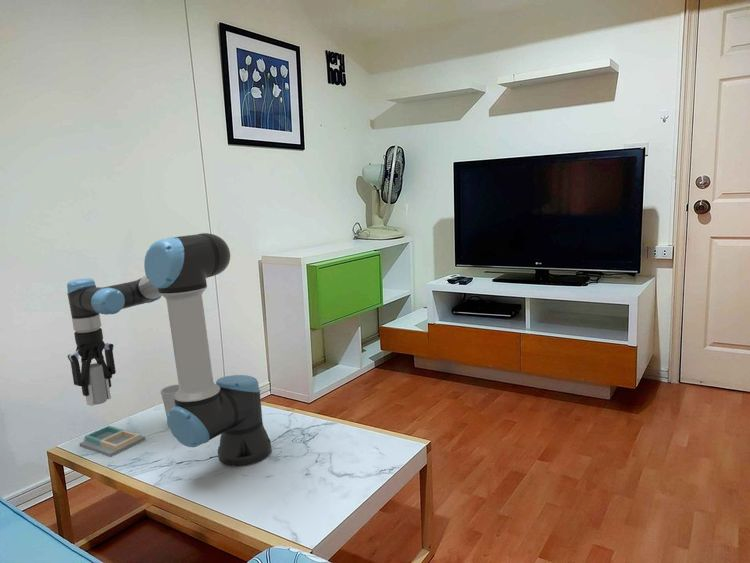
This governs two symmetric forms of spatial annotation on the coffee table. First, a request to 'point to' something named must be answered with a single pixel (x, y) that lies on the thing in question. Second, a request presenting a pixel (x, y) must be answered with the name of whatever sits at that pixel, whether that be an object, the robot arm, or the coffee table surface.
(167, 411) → the cup
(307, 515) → the coffee table surface
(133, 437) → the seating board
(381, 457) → the coffee table surface
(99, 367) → the beverage can
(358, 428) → the coffee table surface
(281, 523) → the coffee table surface
